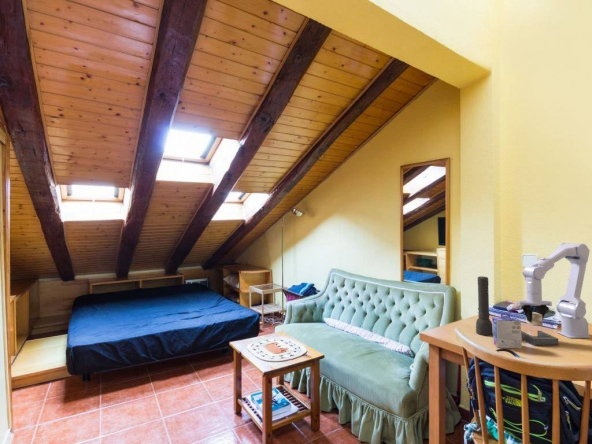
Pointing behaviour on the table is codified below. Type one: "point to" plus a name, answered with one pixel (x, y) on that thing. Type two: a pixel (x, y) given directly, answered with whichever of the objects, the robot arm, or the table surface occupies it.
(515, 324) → the ink cartridge box
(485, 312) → the flashlight
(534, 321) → the birch block
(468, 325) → the table surface
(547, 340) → the cradle
